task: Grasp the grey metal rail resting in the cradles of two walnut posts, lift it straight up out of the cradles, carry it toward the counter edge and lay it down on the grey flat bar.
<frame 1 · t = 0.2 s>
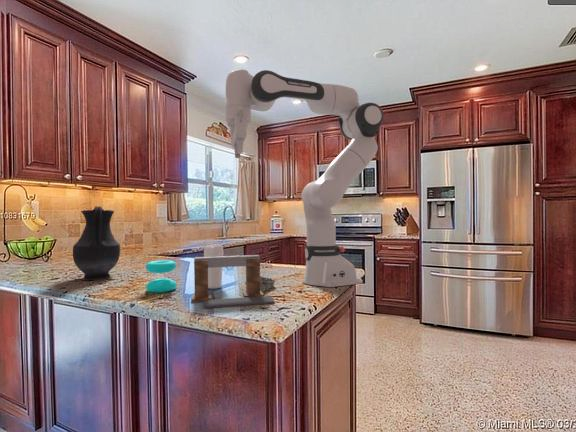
hand: (238, 155, 119), 47 cm above the countertop, tool pointing down, fingers open, 8 cm apart
grey flat bar: (239, 302, 99), on the countertop
drinking glass: (214, 288, 120), on the countertop
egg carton: (260, 289, 118), on the countertop
rail: (227, 266, 105), point 10 cm above the countertop, touching post 1, post 2
pitcher: (97, 278, 139), on the countertop
donuts: (161, 290, 117), on the countertop
post 1: (201, 299, 104), on the countertop
post 2: (253, 296, 107), on the countertop
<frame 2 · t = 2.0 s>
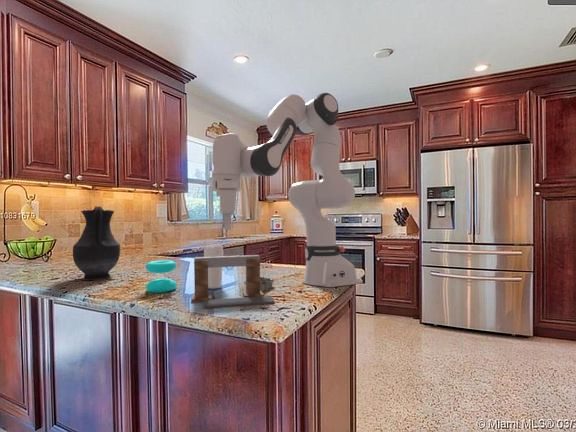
hand: (226, 229, 105), 22 cm above the countertop, tool pointing down, fingers open, 8 cm apart
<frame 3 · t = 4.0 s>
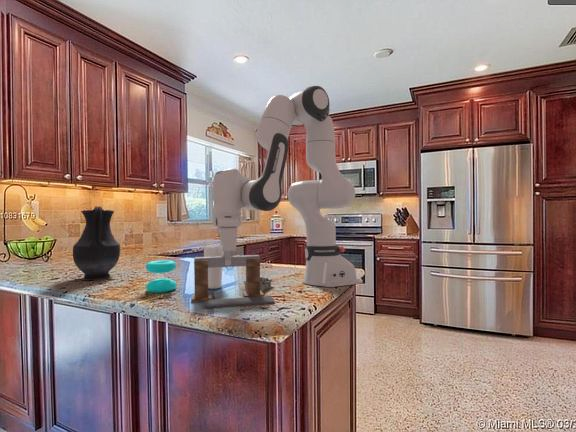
hand: (227, 264, 105), 11 cm above the countertop, tool pointing down, fingers closed on rail, 3 cm apart
rail: (227, 266, 105), point 10 cm above the countertop, touching gripper, post 1, post 2
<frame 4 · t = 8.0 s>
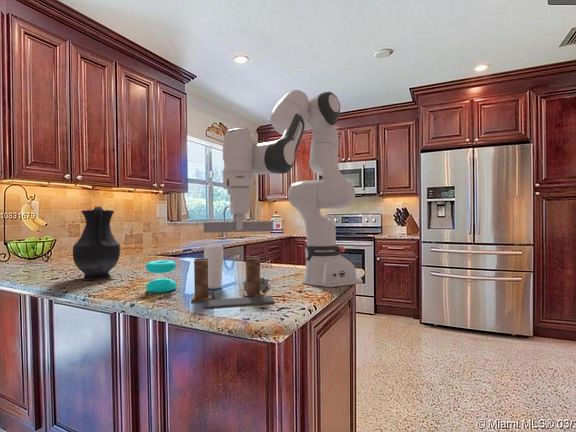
hand: (238, 229, 99), 22 cm above the countertop, tool pointing down, fingers closed on rail, 3 cm apart
rail: (238, 231, 99), point 21 cm above the countertop, touching gripper
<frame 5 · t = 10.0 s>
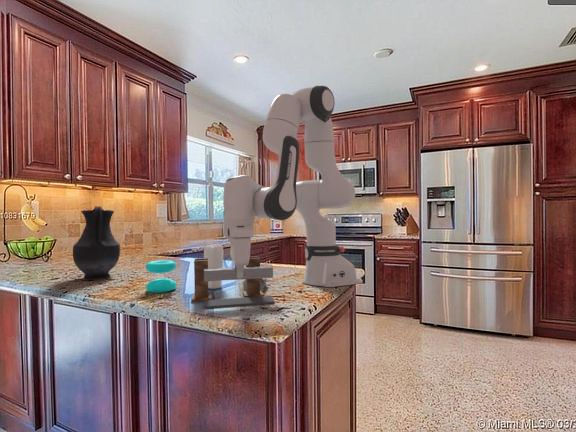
hand: (239, 276, 99), 8 cm above the countertop, tool pointing down, fingers closed on rail, 3 cm apart
rail: (238, 278, 99), point 7 cm above the countertop, touching gripper
when the fingers open (3 cm above the countertop, at t = 11.9 s): rail drops 2 cm, resting on grey flat bar.
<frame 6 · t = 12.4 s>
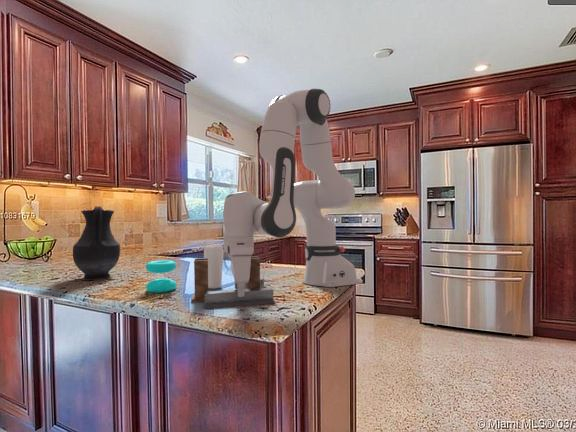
hand: (239, 292, 99), 3 cm above the countertop, tool pointing down, fingers open, 8 cm apart
rail: (239, 300, 99), point 1 cm above the countertop, touching grey flat bar
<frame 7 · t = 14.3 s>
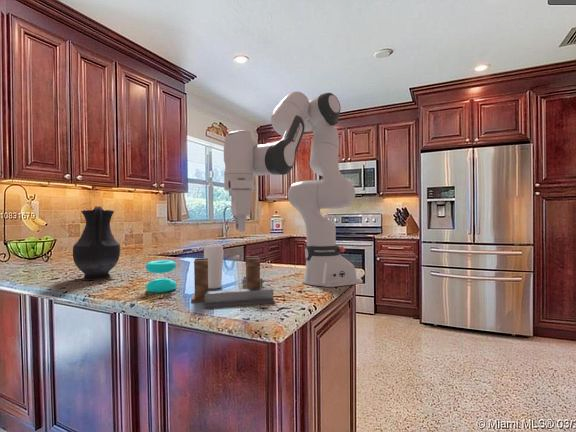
hand: (240, 230, 101), 21 cm above the countertop, tool pointing down, fingers open, 8 cm apart
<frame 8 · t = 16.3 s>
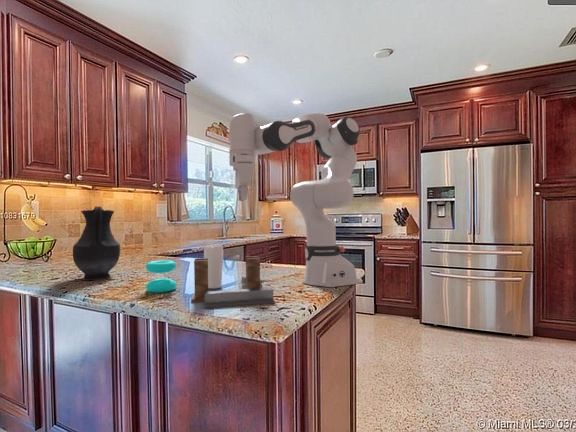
hand: (242, 200, 116), 31 cm above the countertop, tool pointing down, fingers open, 8 cm apart
at the end: rail inside the target area on the grey flat bar (0.1 cm from its centre), point 0.6 cm above the grey flat bar's base; rail point 0.6 cm above the countertop; the gripper is holding nothing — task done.
